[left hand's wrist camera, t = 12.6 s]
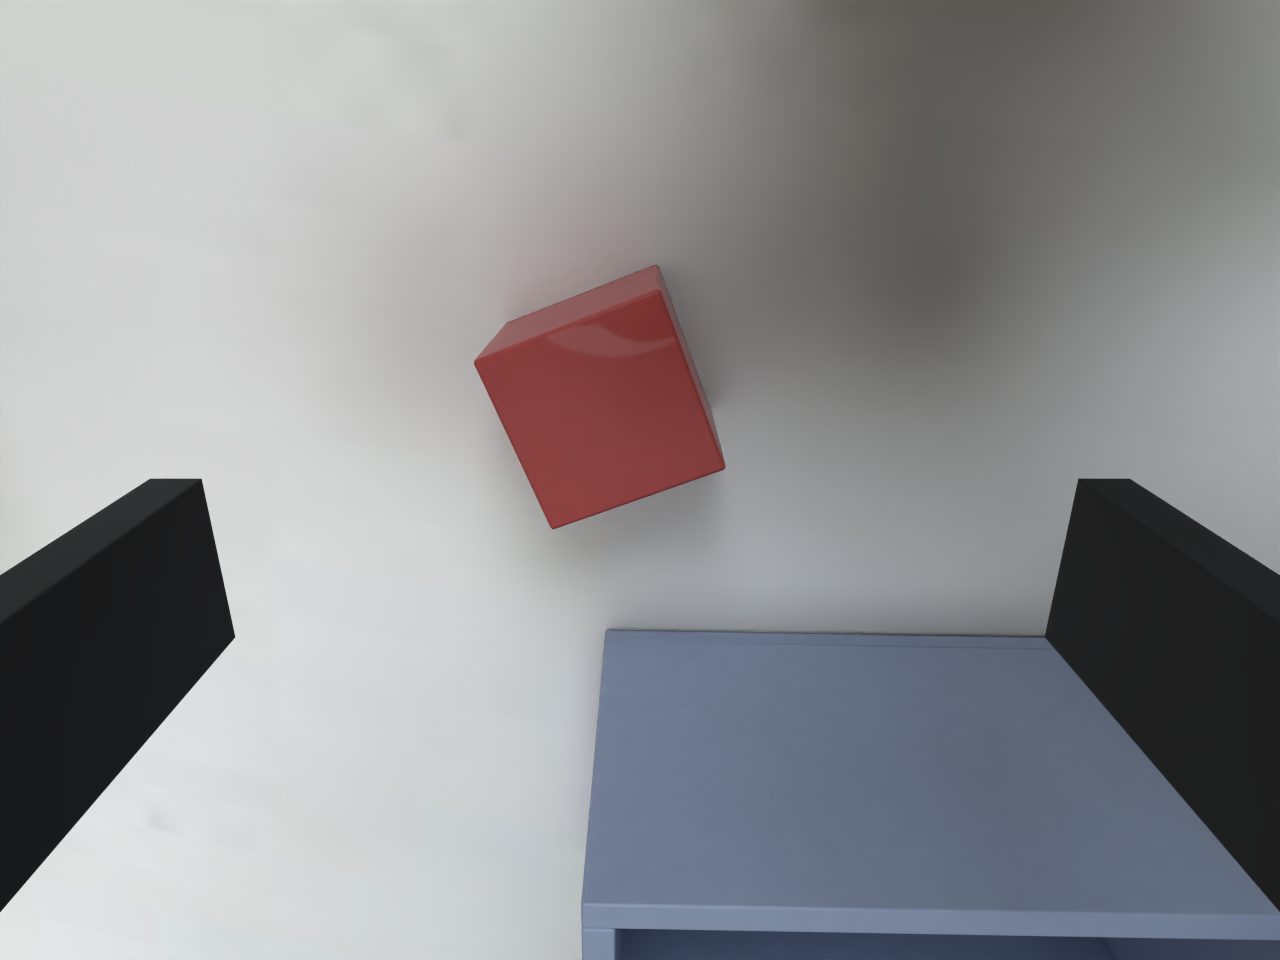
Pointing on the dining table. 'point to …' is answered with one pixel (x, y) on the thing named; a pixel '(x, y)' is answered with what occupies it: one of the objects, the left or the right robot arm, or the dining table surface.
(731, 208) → the dining table surface
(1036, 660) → the chest
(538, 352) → the block
